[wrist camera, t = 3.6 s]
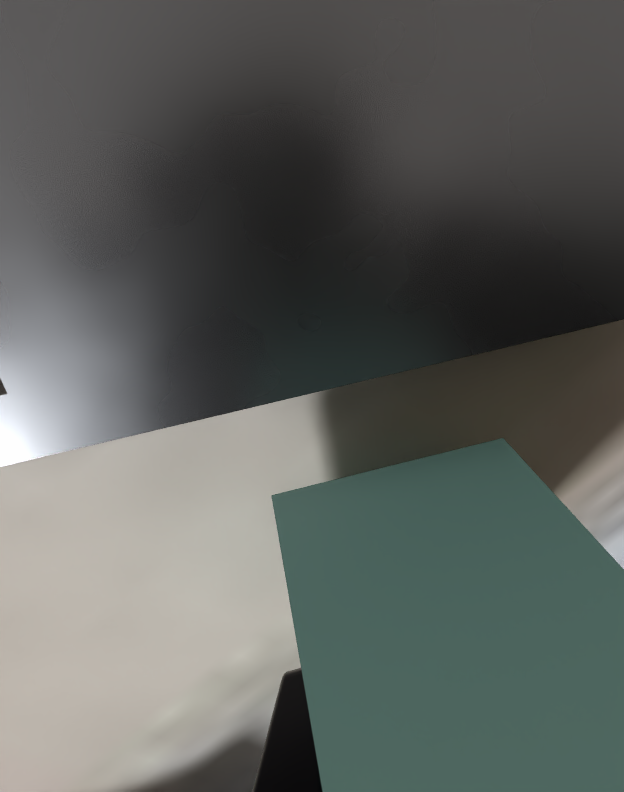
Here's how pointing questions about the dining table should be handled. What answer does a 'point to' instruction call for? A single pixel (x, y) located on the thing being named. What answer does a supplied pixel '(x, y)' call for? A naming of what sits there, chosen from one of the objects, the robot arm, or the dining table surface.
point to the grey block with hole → (292, 198)
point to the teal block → (455, 629)
